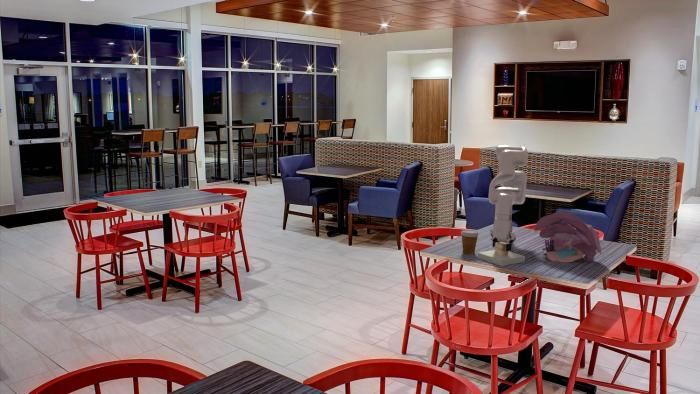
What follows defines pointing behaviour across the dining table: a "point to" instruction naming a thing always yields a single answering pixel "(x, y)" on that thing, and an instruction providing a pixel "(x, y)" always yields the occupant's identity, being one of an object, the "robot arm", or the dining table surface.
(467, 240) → the disposable coffee cup
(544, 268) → the dining table surface
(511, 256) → the sage stand
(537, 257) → the dining table surface
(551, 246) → the purple clam shell
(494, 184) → the robot arm
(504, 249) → the maple block
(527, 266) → the dining table surface
